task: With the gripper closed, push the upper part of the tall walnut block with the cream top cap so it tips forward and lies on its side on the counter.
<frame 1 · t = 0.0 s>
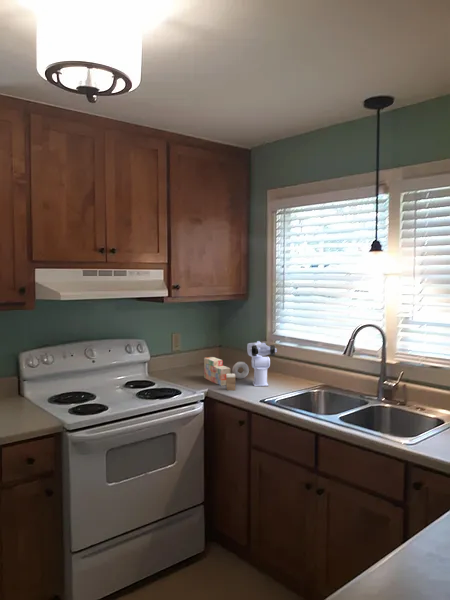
hand: (264, 351, 262), 22 cm above the worktop, tool horizontal, fingers open, 7 cm apart
donut: (240, 378, 297), on the worktop
stack of blocks: (216, 381, 291), on the worktop
walnut block: (230, 389, 272), on the worktop
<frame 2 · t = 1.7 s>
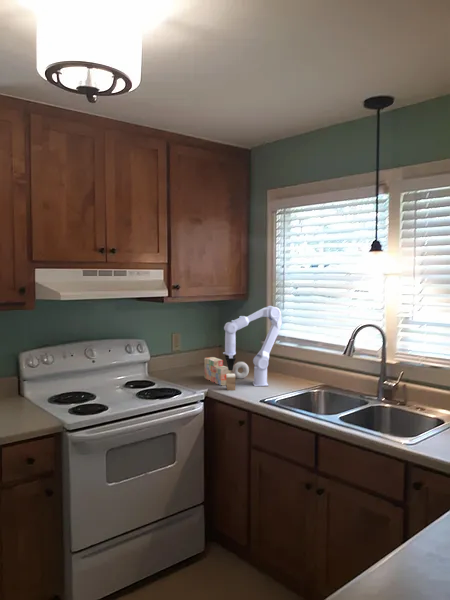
hand: (230, 369, 278), 9 cm above the worktop, tool pointing down, fingers open, 6 cm apart
nothing on the worktop moved.
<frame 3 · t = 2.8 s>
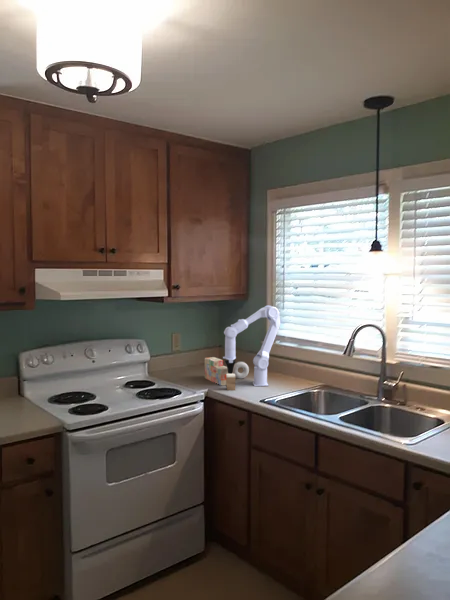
hand: (230, 373, 279), 7 cm above the worktop, tool pointing down, fingers closed
nothing on the worktop moved.
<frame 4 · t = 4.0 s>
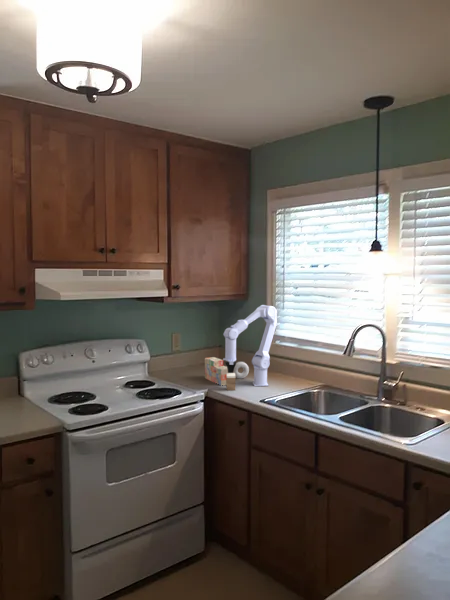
hand: (230, 375, 274), 7 cm above the worktop, tool pointing down, fingers closed
walnut block: (230, 388, 272), on the worktop, tilted 9°
everything else where it was.
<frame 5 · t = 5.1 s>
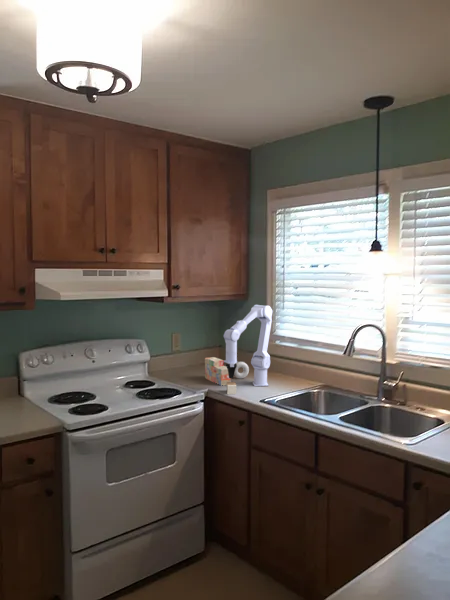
hand: (231, 378, 268), 7 cm above the worktop, tool pointing down, fingers closed
walnut block: (231, 386, 270), point 2 cm above the worktop, tilted 90°
everything else where it was.
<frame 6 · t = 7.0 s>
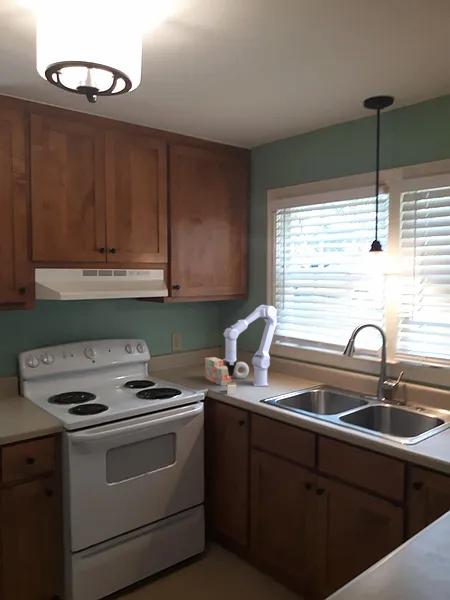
hand: (230, 375, 273), 7 cm above the worktop, tool pointing down, fingers closed
nothing on the worktop moved.
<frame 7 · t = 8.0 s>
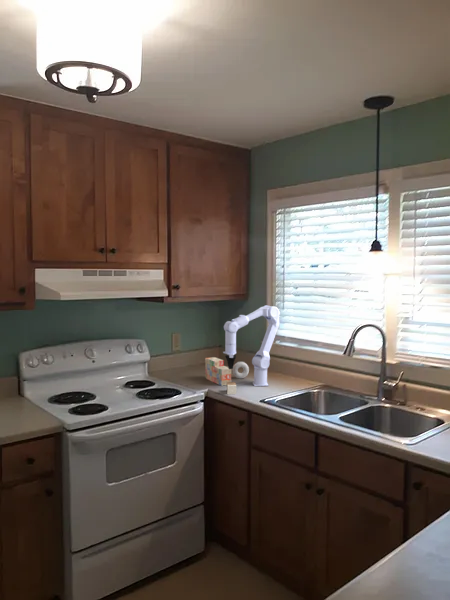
hand: (230, 368, 274), 10 cm above the worktop, tool pointing down, fingers closed
nothing on the worktop moved.
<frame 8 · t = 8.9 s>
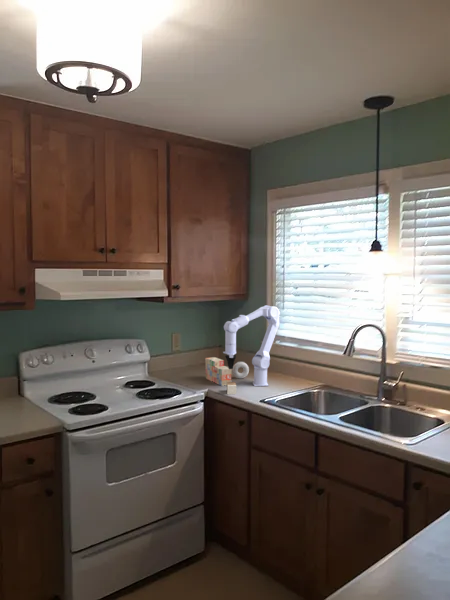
hand: (230, 368, 274), 10 cm above the worktop, tool pointing down, fingers closed
at the end: walnut block tilted 90°; walnut block inside the target area (2.6 cm from its centre), point 2.2 cm above the worktop; the gripper is holding nothing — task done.
